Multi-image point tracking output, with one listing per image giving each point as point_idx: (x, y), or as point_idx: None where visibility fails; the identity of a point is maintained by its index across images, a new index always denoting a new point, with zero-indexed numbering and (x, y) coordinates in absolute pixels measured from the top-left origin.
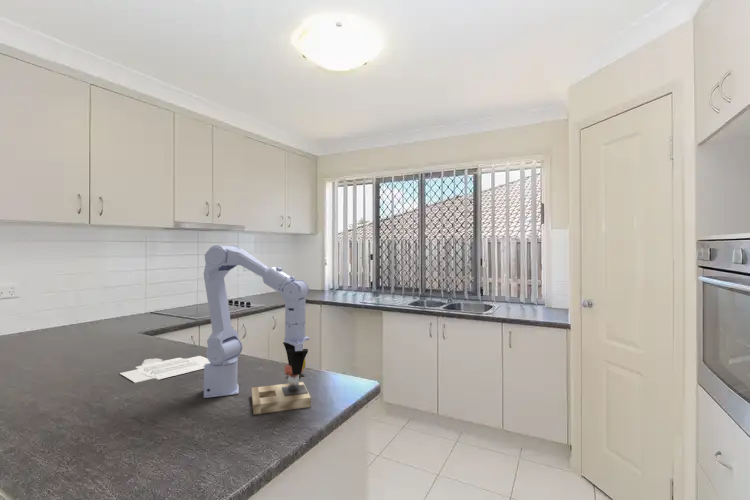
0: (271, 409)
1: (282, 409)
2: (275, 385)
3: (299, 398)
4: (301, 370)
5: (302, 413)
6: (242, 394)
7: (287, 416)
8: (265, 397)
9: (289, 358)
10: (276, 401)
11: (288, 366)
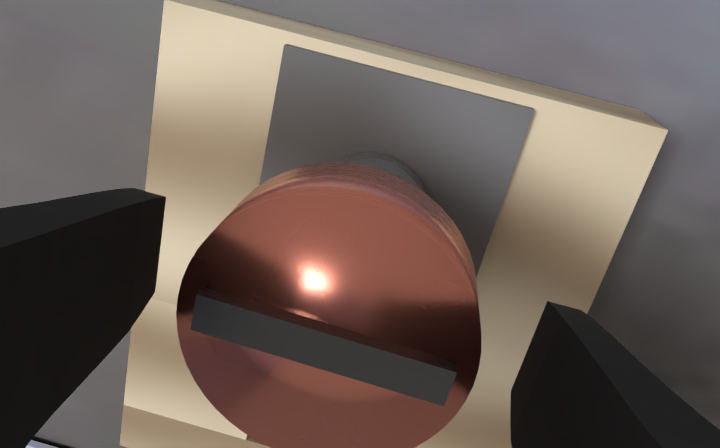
0: None
1: None
2: None
3: (602, 235)
4: (605, 331)
5: (711, 231)
6: (89, 430)
7: (671, 343)
8: None
9: (78, 360)
10: None
11: (304, 409)
